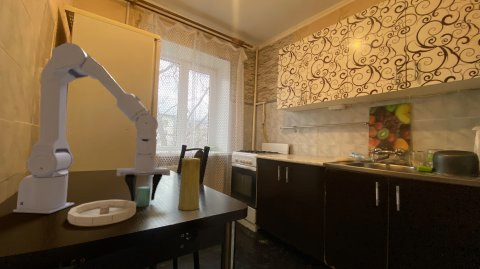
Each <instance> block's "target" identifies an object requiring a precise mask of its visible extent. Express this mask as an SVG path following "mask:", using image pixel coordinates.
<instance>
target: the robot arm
mask: <svg viewBox="0 0 480 269" xmlns="http://www.w3.org/2000/svg"><path fill="white" fill-rule="evenodd" d="M51 52H52V53H51V55H52V56H51V57H50V59H49V60H48V61H47V63H46V64H45V66H44V67H43V69H42V70H41V74H40V107H39V108H40V109H39V111H40V112H39V115H40V116H39V121H40V122H39V139H38V140H36V141H35V143H34V144H33V145H32V147H31V154H30V155H29V157H28V158H27V161H26V167H27V170H28V172H30V173H31V174H30V175H27V176H25V177H23V178H22V180H20V182H19V184H18V189H17V190H18V192H17V202H16V209H13V210H12V212H13V213H27V214H28V213H30V214H52V213H55V212H57V211H60V210H63V209H66V208H68V207H71V206H74V205H75V202H67V198H68V197H67V196H68V183H69V182H68V181H69V171H68V170H69V169H70V168H71V167H72V166H73V164H74V157H73V154H72V152H71V150H70V149H71V148H70V144H69V142H68V141H67V107H68V106H67V104H68V85H69V84H70V83H71V82H73V81H75V80H78V79H83V78H86V77H90V78H91V79H93V80H97V81H98V82H99V83H100V84H101V85H102V86H103V87H104V88H105V89H106V90H108V92H109V93H110V94H111V95H112V96H113V97H114V98H115V99H116V107H117V108H118V109H119V110H120V111H121V112H122V113H123V114H124V115H125V117H127V118H128V120H129V121H130V122H131V123H134V126H135V129H136V138H135V151H134V152H135V154H134V167H127V168H126V167H125V168H124V167H123V168H121V167H120V168H117V169H116V177H121V176H125V177H124V182H125V184H126V185H127V188H128V190H129V194H130V198H131V199H130V201H132V202H135V200H136V198H137V188H136V187H137V178H138V176H152V177H151V178H152V179H151V181H152V182H151V183H152V184H151V189H152V190H151V193H150V201H154V200H155V196H156V191H157V189H158V186H159V184H160V181H161V180H162V178H163V176H170V175H171V168H165V167H164V168H160V167H156V159H157V158H156V157H157V142H158V141H157V136H158V135H157V134H158V132H157V130H158V128H159V122H158V120H157V119H156V117H155V116H153V114H152V111H151V109H147V108H146V106H145V105H144V104H143V103H142V102H141V100H142V99H141V98H140V97H139V96H138V95H135V94H133V93H127V92H126V91H125V90H124V89H123V88H122V87H121V86H120V84H118V82H117V81H116V80H115V79H114V77H112V76H111V74H110V73H109V72H108V71H107V70H106V68H104V66H103V65H101V64H100V63H99V62H98V61H97V60H95V58H93V57H92V56H91V55H89V53H86V52H85V51H84V50H83V48H82V47H81V46H79V45H78V44H75V43H72V42H65V43H62V44H60V45H58V46H56V47H54V48H52V51H51Z"/></svg>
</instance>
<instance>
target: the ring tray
mask: <svg viewBox="0 0 480 269" xmlns="http://www.w3.org/2000/svg"><path fill="white" fill-rule="evenodd" d="M136 213H137V206H136V201H131V200H128V199H105V200H95V201H91V202H85V203H82V204H79V205H76V206H74V207H71V208H70V210H69V211H68V212H67V221H68V223H69V224H70V225H73V226H77V227H97V226H105V225H110V224H111V225H113V224H116V223H119V222H123V221H125V220H129V219H130V218H132V217H133V216H134V215H136Z"/></svg>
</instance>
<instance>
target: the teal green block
mask: <svg viewBox="0 0 480 269" xmlns="http://www.w3.org/2000/svg"><path fill="white" fill-rule="evenodd" d="M135 200H136V201H135V203H136V207H141V208H142V207H148V206H149V205H150V201H151V187H150V186H139V187H137V188H136V198H135ZM147 205H148V206H147Z"/></svg>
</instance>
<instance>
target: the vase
mask: <svg viewBox="0 0 480 269" xmlns="http://www.w3.org/2000/svg"><path fill="white" fill-rule="evenodd" d="M200 168H201V159H200V158H197V157H195V158H193V157H184V158H181V169H180V184H179V196H178V197H179V198H178V205H177V209H178V210H180V211H185V212H188V211H189V212H190V211H196V210H198V209H199V208H200V170H201V169H200Z"/></svg>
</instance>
